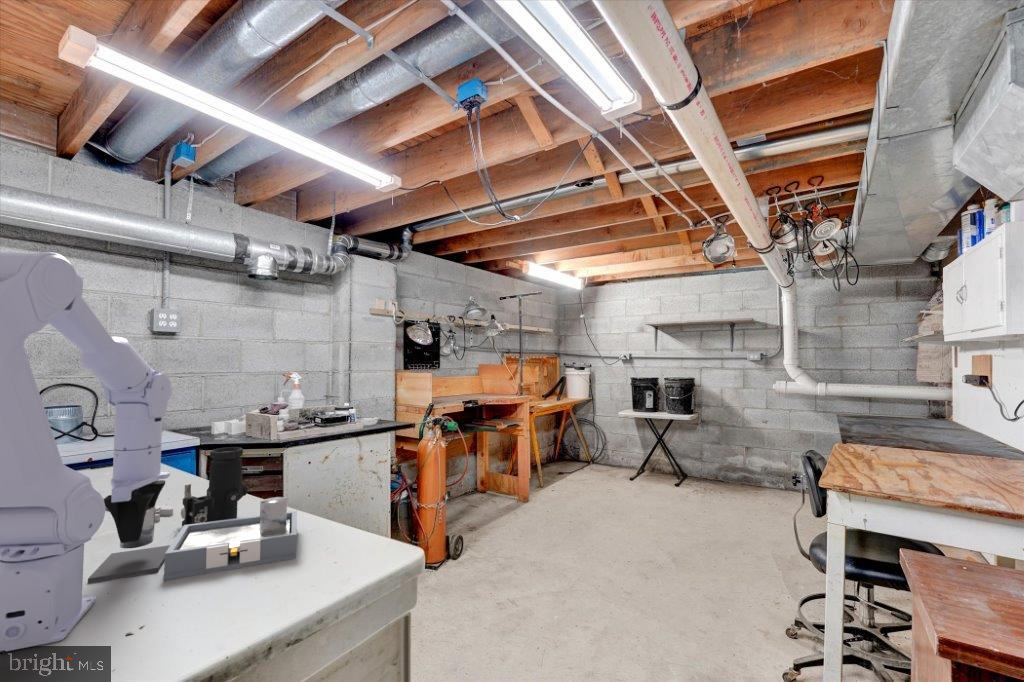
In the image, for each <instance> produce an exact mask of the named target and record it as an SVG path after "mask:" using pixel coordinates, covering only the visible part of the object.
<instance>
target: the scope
mask: <svg viewBox="0 0 1024 682" xmlns="http://www.w3.org/2000/svg"><path fill="white" fill-rule="evenodd" d="M243 454H244V449H243V448H242V447H238V446H233V447H232V446H230V447H221V448H216V449H215V448H214V449H212V450H210V453H209V458H210V459H212V460H211V461H210V466H209V479H208V480H209V481H208V487H207V490H206V495H203V496H198V497H196V496H193V495H192V489H191V488H192V484H190V483H189V484H188V483H187V484H185V485H184V491H183V492H184V494H183V495H184V498H182V505H183V508H181V510H180V516H181V518H182V519H183V520H182V522H181V528H182V527H183V526H184V525H188V524H196V523H204V522H212V521H220V520H228V519H236V518H238V502H239V501H240V500H241V499H242V498H243V497H244V496H246V495H247V494H248V492H249V491H248V490H249V487H248V486H247V485H246V484H245V483H243V458H242V456H243Z"/></svg>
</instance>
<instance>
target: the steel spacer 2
mask: <svg viewBox="0 0 1024 682" xmlns="http://www.w3.org/2000/svg"><path fill="white" fill-rule="evenodd" d="M259 507H260V509H259V516H260V534H262V535H274V534H279V533H281V532H284V531H285V530H286V522H287V512H288V509H287V508H288V498H286V497H285V496H284V497H282V496H275V497H268V498H265V499H262V500H261V501H260V505H259Z"/></svg>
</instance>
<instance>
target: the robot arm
mask: <svg viewBox="0 0 1024 682" xmlns="http://www.w3.org/2000/svg"><path fill="white" fill-rule="evenodd" d="M83 290H84V278H83V276H81V275H80V274H79V273H78V272H77V271H76V269H75V267H74V265H73V264H72V263H71V261H70V260H68V259H67V258H66V256H63V255H62V254H60V253H58V252H53V251H52V252H51V251H47V252H43V251H42V252H13V251H12V252H11V251H10V252H9V251H7V252H6V251H0V650H5V651H6V652H10V651H15V650H20V649H25V648H30V647H36V646H40V645H46V644H51V643H56V642H59V641H62V640H64V639H65V638H66V637H67V636H68V634H69V633H70V632H71V631H72V630H73V628H75V626H76V624H77V623H78V622H79V621H80V620H81V619H82V617H83V616H84V615H85V614H86V612H87V611H88V610H89V609H90V608H91V607H92V605H93V604H94V603H95V601H96V600H97V599H96V598H97V597H95V596H91V597H85V598H84V597H83V585H84V584H83V583H84V581H83V579H84V560H85V559H84V557H85V556H84V555H85V554H84V553H85V544H86V543H88V542H89V541H91V540H92V537H94V535H96V533H97V532H98V530H99V529H100V528H101V526H102V523H103V522H104V518H105V515H106V510H107V509H108V512H109V513H110V514H111V517H112V519H113V521H114V523H115V528H116V531H117V535H118V536H117V537H118V538H119V543H120V542H121V543H126V542H133V541H138V540H139V538H140V536H141V533H142V528H143V523H144V518H145V514H146V511H147V508H148V506H153V507H155V506H156V505H157V504H156V503H157V501H158V499H159V497H160V496H159V495H160V494H161V492H162V490H163V488H164V487H165V485H166V480H165V479H168V478H169V477H170V476H171V472H170V471H161V469H162V468H161V465H162V464H161V463H162V462H161V461H162V433H163V417H165V416H166V413H167V411H168V403H169V401H170V399H171V396H172V393H173V386H172V382H171V381H172V380H171V379H170V377H169V375H167V374H166V373H165V372H163V371H162V370H156V369H155V370H154V369H153V368H152V367H151V366H150V365H149V364H148V363H147V361H146V360H145V359H144V358H143V357H142V355H140V353H139V352H138V351H137V350H136V348H134V347H133V346H132V344H131V342H130V341H129V340H128V338H124V337H121V336H112V335H111V334H110V333H109V332H108V330H107V329H106V328H105V326H104V325H103V324H102V321H100V319H99V318H98V316H97V315H96V313H95V312H94V311H93V309H92V308H91V307H90V306H89V304H88V303H87V301H86V300H85V298H84V297H83V296H82V295H83V292H84V291H83ZM48 325H50V326H52V327H53V328H54V329H55V330H57V332H59V333H60V334H61V335H63V337H65V338H66V339H67V340H68V341H70V342H71V343H73V344H74V345H75V346H76V347H77V348H78V349H80V350H81V351H82V352H81V354H80V359H79V360H80V363H81V364H82V366H84V368H86V369H87V370H88V371H89V373H91V374H92V375H93V376H94V377H95V378H97V380H98V381H100V385H101V388H102V389H103V391H104V397H105V400H106V403H107V404H109V405H111V406H113V407H114V408H115V409H114V412H115V413H114V415H115V416H114V433H113V439H114V440H113V457H112V458H113V459H112V460H113V462H112V464H113V465H112V478H110V485H111V494H109V495H107V496H106V497H105V498H104V500H103V497H104V496H102V494H100V492H98V491H97V490H96V489H95V488H94V487H93V485H92V481H91V479H90V477H89V476H87V475H85V474H83V473H82V472H80V471H77V470H74V468H73V469H72V468H70V467H69V466H67V465H64V463H63V460H62V457H61V454H60V451H59V447H58V446H57V442H56V439H55V435H54V434H53V433H54V432H53V430H52V427H51V424H50V422H49V421H50V420H49V418H48V416H47V413H46V409H45V406H44V403H43V400H42V398H41V394H40V390H39V388H38V386H37V382H36V379H35V376H34V373H33V370H32V367H31V364H30V361H29V358H28V354H27V353H26V349H25V346H24V343H25V342H26V340H27V338H28V337H29V336H30V335H31V334H35V333H38V332H40V331H42V330H43V329H44V328H45V327H47V326H48ZM105 506H106V508H107V509H105Z"/></svg>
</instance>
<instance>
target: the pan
mask: <svg viewBox="0 0 1024 682" xmlns="http://www.w3.org/2000/svg"><path fill="white" fill-rule="evenodd" d="M289 532H290V519H287V522H286V530H285V531H284V532H281V533H279V534H274V535H262V534H260V523H254V524H247V525H239V526H232V527H224V528H216V529H209V530H201V531H194V532H190V533H189V535H188V537H187V538H186V540H185V542H184V543H183V545H182V546H181V548H180V549H187V548H194V547H201V546H208V545H215V544H222V543H228V542H229V553H231V556H235V555H237V553H238V552H240V541H242V540H249V539H256V538H263V537H270V536H277V535H284V534H289Z"/></svg>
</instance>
